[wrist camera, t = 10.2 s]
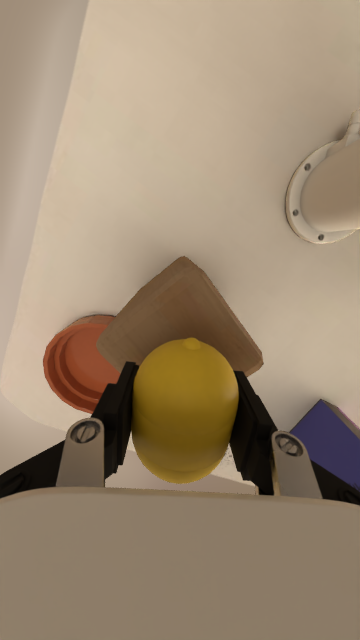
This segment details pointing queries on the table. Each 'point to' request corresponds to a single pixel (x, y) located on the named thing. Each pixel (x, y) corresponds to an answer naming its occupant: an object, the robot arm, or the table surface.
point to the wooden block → (178, 321)
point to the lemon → (183, 410)
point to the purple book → (331, 441)
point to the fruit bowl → (79, 363)
